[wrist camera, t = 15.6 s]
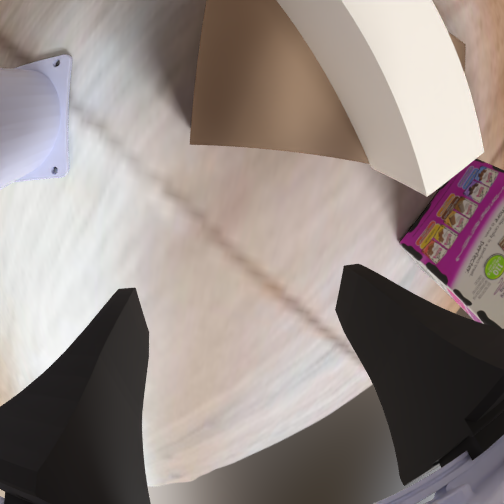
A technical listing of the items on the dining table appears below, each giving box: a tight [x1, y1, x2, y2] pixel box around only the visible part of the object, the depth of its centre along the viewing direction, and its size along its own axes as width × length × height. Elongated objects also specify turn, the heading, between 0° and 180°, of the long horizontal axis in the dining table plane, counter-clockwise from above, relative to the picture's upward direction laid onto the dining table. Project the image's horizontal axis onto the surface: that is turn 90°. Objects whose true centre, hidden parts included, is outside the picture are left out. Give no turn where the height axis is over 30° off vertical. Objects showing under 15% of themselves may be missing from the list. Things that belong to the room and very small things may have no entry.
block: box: [276, 0, 484, 197], centre depth 8 cm, size 4×9×4 cm, turn 32°
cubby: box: [190, 0, 465, 164], centre depth 12 cm, size 14×9×6 cm, turn 83°
